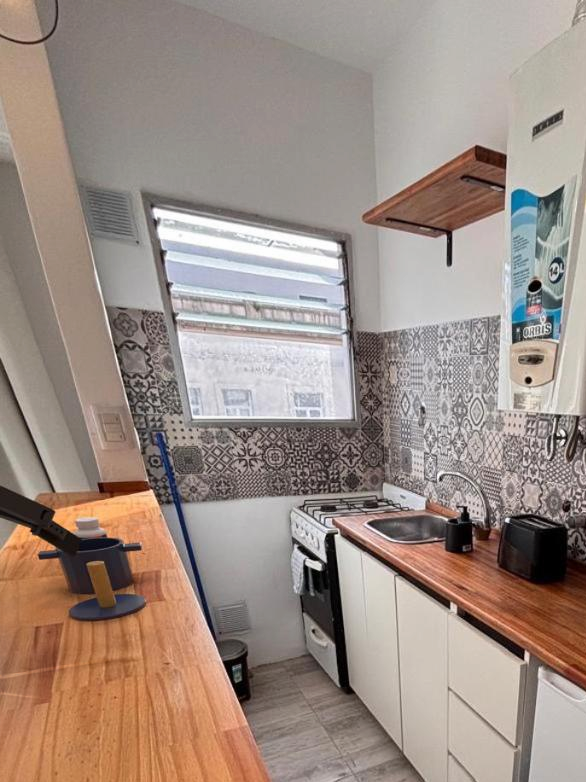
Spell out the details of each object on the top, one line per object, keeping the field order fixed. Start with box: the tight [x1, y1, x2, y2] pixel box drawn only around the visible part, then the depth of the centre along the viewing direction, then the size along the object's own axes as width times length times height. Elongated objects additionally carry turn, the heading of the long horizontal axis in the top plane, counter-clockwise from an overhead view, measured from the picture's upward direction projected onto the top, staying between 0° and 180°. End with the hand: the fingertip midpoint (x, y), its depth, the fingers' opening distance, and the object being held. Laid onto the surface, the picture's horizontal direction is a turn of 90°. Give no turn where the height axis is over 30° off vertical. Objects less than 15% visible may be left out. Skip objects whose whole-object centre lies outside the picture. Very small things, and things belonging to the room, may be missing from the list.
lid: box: [68, 561, 147, 622], centre depth 87 cm, size 11×11×9 cm
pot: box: [37, 536, 143, 595], centre depth 97 cm, size 10×16×8 cm, turn 119°
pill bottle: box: [74, 516, 108, 539], centre depth 109 cm, size 5×5×10 cm
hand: (33, 544), depth 74 cm, fingers open, 13 cm apart
